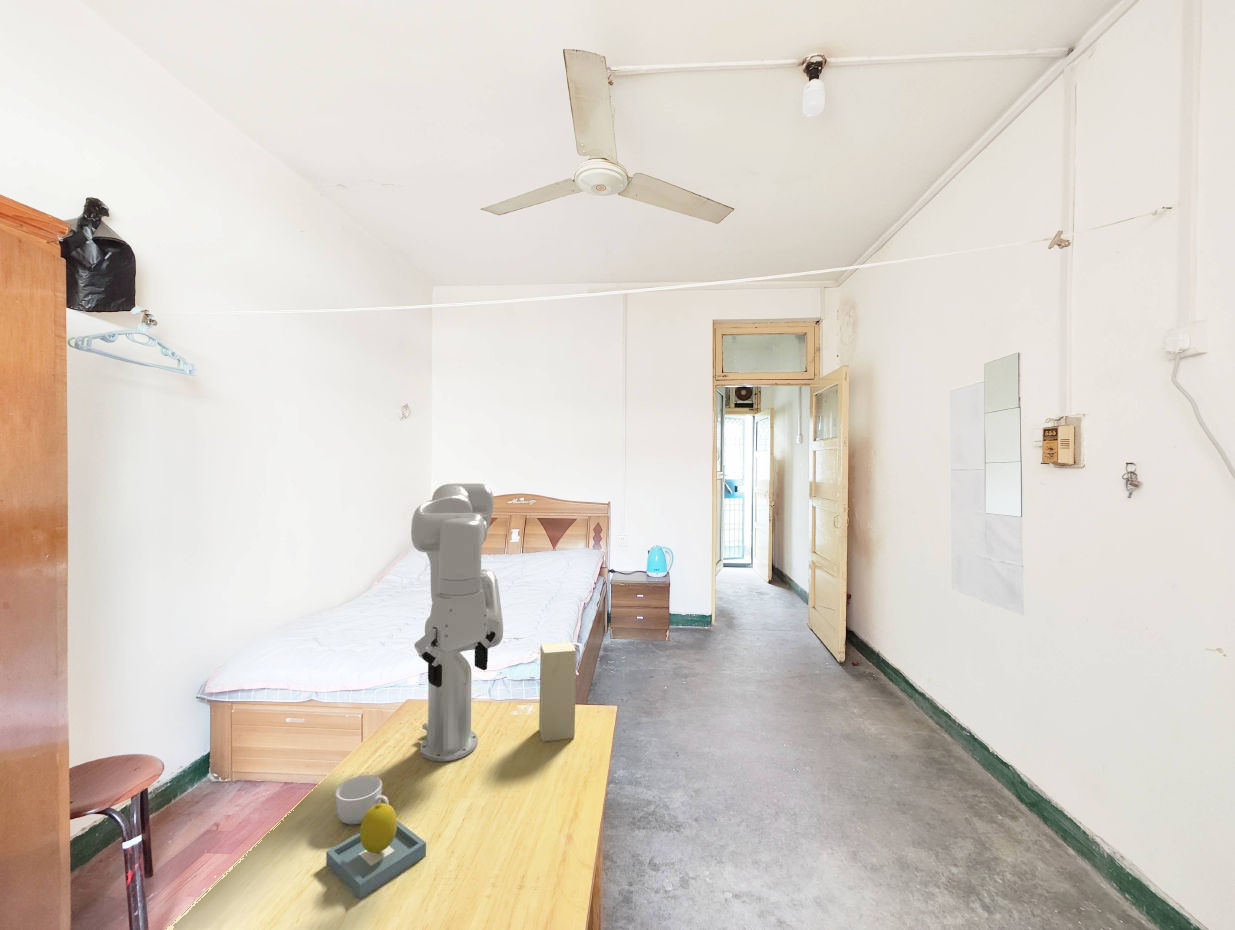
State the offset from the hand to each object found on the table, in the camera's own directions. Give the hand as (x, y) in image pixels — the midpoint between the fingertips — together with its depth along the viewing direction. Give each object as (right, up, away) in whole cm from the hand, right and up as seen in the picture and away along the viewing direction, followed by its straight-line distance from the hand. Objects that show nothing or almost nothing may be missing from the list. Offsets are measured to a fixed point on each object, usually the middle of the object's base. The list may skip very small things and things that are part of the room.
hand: (458, 676), depth 97 cm
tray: (-10, -26, -11) cm, 30 cm away
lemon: (-10, -25, -12) cm, 29 cm away
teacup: (-17, -26, -1) cm, 31 cm away
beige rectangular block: (+15, -26, +30) cm, 43 cm away
